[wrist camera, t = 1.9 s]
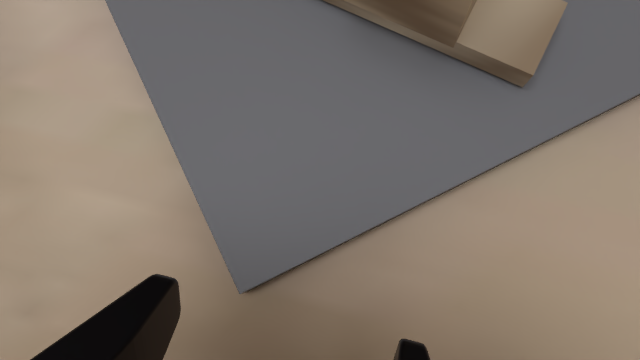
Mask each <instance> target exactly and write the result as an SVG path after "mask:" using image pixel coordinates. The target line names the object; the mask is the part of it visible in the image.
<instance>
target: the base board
mask: <svg viewBox="0 0 640 360" xmlns="http://www.w3.org/2000/svg"><path fill="white" fill-rule="evenodd" d="M105 1H106V3H107V5H108V7H109V10H110V12H111V14H112V16H113V18H114V21H115V23H116V25H117V27H118V29H119V32H120V34H121V36H122V38H123V40H124V42H125V45H126V47H127V49H128V51H129V53H130V56H131V58H132V60H133V62H134V64H135V66H136V69H137V71H138V73H139V75H140V77H141V80H142V82H143V84H144V86H145V88H146V90H147V93H148V95H149V97H150V99H151V101H152V104H153V106H154V108H155V110H156V112H157V115H158V117H159V119H160V121H161V123H162V125H163V128H164V130H165V132H166V134H167V136H168V139H169V141H170V143H171V145H172V147H173V149H174V152H175V154H176V156H177V158H178V160H179V163H180V165H181V167H182V169H183V171H184V173H185V176H186V178H187V180H188V182H189V184H190V187H191V189H192V191H193V193H194V195H195V198H196V200H197V202H198V204H199V206H200V208H201V211H202V213H203V215H204V217H205V219H206V222H207V224H208V226H209V228H210V230H211V232H212V235H213V237H214V239H215V241H216V243H217V246H218V248H219V250H220V252H221V254H222V256H223V259H224V261H225V263H226V265H227V267H228V270H229V272H230V274H231V276H232V278H233V281H234V283H235V285H236V287H237V289H238V291H239V294H241V293H244V292H247V291H249V290H251V289H253V288H255V287H257V286H259V285H261V284H263V283H265V282H267V281H269V280H271V279H273V278H275V277H277V276H279V275H281V274H283V273H285V272H287V271H289V270H291V269H293V268H295V267H297V266H299V265H301V264H303V263H305V262H307V261H309V260H311V259H313V258H315V257H317V256H319V255H321V254H323V253H325V252H327V251H329V250H331V249H333V248H335V247H337V246H339V245H341V244H343V243H345V242H347V241H349V240H351V239H353V238H355V237H357V236H359V235H361V234H363V233H365V232H367V231H369V230H371V229H373V228H375V227H377V226H379V225H381V224H383V223H385V222H387V221H389V220H391V219H393V218H395V217H397V216H399V215H401V214H403V213H405V212H407V211H409V210H411V209H413V208H415V207H417V206H419V205H421V204H423V203H425V202H427V201H429V200H431V199H433V198H435V197H437V196H439V195H441V194H443V193H445V192H447V191H449V190H451V189H453V188H455V187H457V186H459V185H461V184H463V183H465V182H467V181H469V180H471V179H473V178H475V177H477V176H479V175H481V174H483V173H485V172H487V171H489V170H491V169H493V168H495V167H497V166H499V165H501V164H503V163H505V162H507V161H509V160H511V159H513V158H515V157H517V156H519V155H521V154H523V153H525V152H527V151H529V150H531V149H533V148H535V147H537V146H539V145H541V144H543V143H545V142H547V141H549V140H551V139H553V138H555V137H557V136H559V135H561V134H563V133H565V132H567V131H569V130H571V129H573V128H575V127H577V126H579V125H581V124H583V123H585V122H587V121H589V120H591V119H593V118H595V117H597V116H599V115H601V114H603V113H605V112H607V111H609V110H611V109H613V108H615V107H617V106H619V105H621V104H623V103H625V102H627V101H629V100H631V99H633V98H635V97H637V96H639V95H640V0H562V1H565V2H567V3H568V4H567V6H566V8H565V10H564V12H563V14H562V16H561V19H560V21H559V23H558V25H557V27H556V29H555V31H554V33H553V35H552V37H551V39H550V42H549V44H548V46H547V48H546V50H545V52H544V54H543V56H542V58H541V60H540V62H539V65H538V67H537V69H536V71H535V73H534V75H533V76H532V77H531V79H530V80H529V81H528V82H527V83H526V84H525V85H524V86H523V87H520V86H518V85H516V84H513V83H511V82H509V81H507V80H504V79H502V78H500V77H497V76H495V75H493V74H491V73H488V72H486V71H484V70H481V69H479V68H477V67H475V66H472V65H470V64H468V63H465V62H463V61H461V60H459V59H456V58H454V57H452V56H449V55H447V54H445V53H442V52H440V51H438V50H436V49H433V48H431V47H429V46H426V45H424V44H422V43H420V42H417V41H415V40H413V39H410V38H408V37H406V36H404V35H401V34H399V33H397V32H394V31H392V30H390V29H388V28H385V27H383V26H381V25H378V24H376V23H374V22H372V21H369V20H367V19H365V18H362V17H360V16H358V15H355V14H353V13H351V12H349V11H346V10H344V9H342V8H339V7H337V6H335V5H333V4H330V3H328V2H326V1H323V0H105Z"/></svg>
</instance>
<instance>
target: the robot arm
mask: <svg viewBox="0 0 640 360" xmlns="http://www.w3.org/2000/svg"><path fill="white" fill-rule="evenodd" d="M180 311H181V306H180V295H179V285H178V282H177V280H176V279H174V278H171V277H167V276H163V275H160V274H155V275H152V276H150V277H148V278H147V279H145V280H144V281H143V282H141V283H140V284H138V285H137V286H135V287H134V288H132V289H131V290H130V291H128V292H127V293H125V294H124V295H122V296H121V297H120V298H118V299H117V300H115V301H114V302H112V303H111V304H110V305H108V306H107V307H105V308H104V309H102V310H101V311H100V312H98V313H97V314H95V315H94V316H92V317H91V318H89V319H88V320H87V321H85V322H84V323H82V324H81V325H79V326H78V327H77V328H75V329H74V330H72V331H71V332H69V333H68V334H67V335H65V336H64V337H62V338H61V339H59V340H58V341H56V342H55V343H54V344H52V345H51V346H49V347H48V348H46V349H45V350H44V351H42V352H41V353H39V354H38V355H36V356H35V357H34V358H32V359H31V360H163V358H164V355H165V353H166V350H167V348H168V345H169V343H170V340H171V338H172V335H173V333H174V330H175V328H176V326H177V323H178V320H179V317H180ZM393 360H430V357H429V354H428V351H427V349H426V347H425V345H424V344H422V343H419V342H415V341H411V340H407V339H401V340H400V341H399V344H398V347H397V350H396V353H395V356H394V359H393Z"/></svg>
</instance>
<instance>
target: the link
mask: <svg viewBox="0 0 640 360" xmlns="http://www.w3.org/2000/svg"><path fill="white" fill-rule="evenodd" d="M323 1H326V2H328V3H330V4H333V5H335V6H337V7H339V8H342V9H344V10H346V11H349V12H351V13H353V14H355V15H358V16H360V17H362V18H365V19H367V20H369V21H372V22H374V23H376V24H378V25H381V26H383V27H385V28H388V29H390V30H392V31H394V32H397V33H399V34H401V35H404V36H406V37H408V38H410V39H413V40H415V41H417V42H420V43H422V44H424V45H426V46H429V47H431V48H433V49H436V50H438V51H440V52H442V53H445V54H447V55H449V56H452V57H454V58H456V59H459V60H461V61H463V62H465V63H468V64H470V65H472V66H475V67H477V68H479V69H481V70H484V71H486V72H488V73H491V74H493V75H495V76H497V77H500V78H502V79H504V80H507V81H509V82H511V83H513V84H516V85H518V86H520V87H523V86H524V85H525V84H526V83H527V82H528V81H529V80H530V79H531V77H532V76H533V75H534V73H535V71H536V69H537V67H538V65H539V62H540V60H541V58H542V56H543V54H544V52H545V50H546V48H547V46H548V44H549V42H550V39H551V37H552V35H553V33H554V31H555V29H556V27H557V25H558V23H559V21H560V19H561V16H562V14H563V12H564V10H565V8H566V6H567V4H568V3H567V2H565V1H562V0H323Z"/></svg>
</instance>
